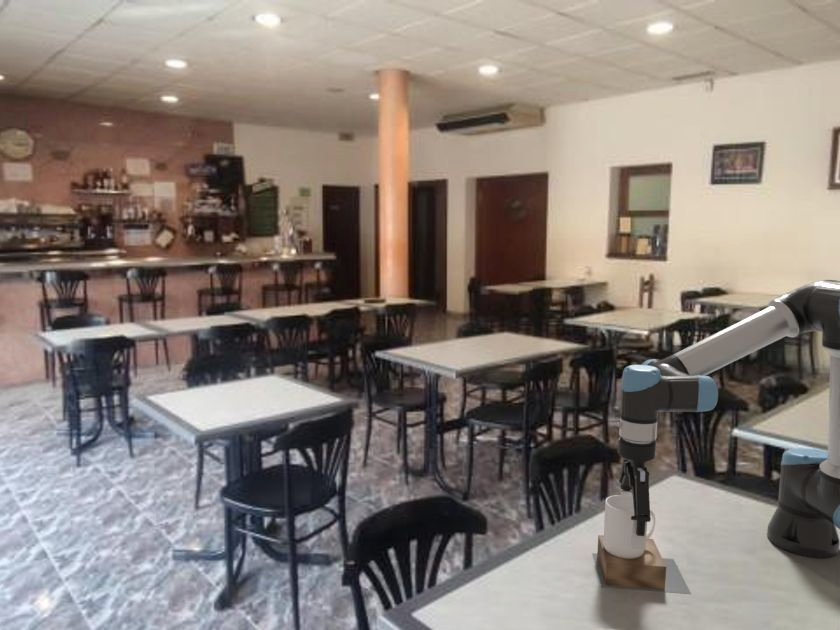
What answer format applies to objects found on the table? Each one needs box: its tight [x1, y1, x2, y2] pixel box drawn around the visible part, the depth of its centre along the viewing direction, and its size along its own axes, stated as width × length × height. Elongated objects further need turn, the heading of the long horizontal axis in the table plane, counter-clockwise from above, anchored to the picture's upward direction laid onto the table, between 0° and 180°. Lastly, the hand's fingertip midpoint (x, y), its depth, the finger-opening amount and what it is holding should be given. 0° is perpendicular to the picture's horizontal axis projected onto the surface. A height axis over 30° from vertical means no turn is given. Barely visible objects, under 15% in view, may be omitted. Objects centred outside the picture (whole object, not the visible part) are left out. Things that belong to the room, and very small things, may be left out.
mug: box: [603, 494, 656, 559], centre depth 139 cm, size 9×12×11 cm
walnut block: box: [596, 534, 666, 589], centre depth 140 cm, size 12×12×5 cm
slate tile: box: [591, 552, 692, 595], centre depth 140 cm, size 18×14×1 cm
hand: (631, 532), depth 139 cm, fingers open, 13 cm apart
